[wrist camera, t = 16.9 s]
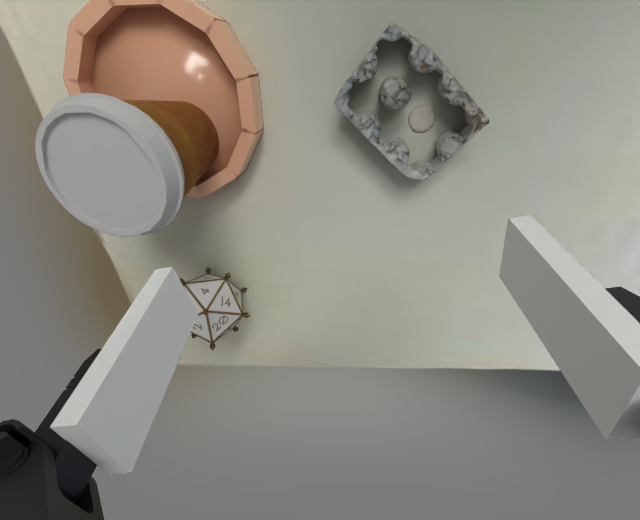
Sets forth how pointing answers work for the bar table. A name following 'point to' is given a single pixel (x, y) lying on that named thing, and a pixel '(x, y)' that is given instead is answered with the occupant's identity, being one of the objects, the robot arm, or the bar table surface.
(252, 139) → the terracotta bowl
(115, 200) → the disposable coffee cup
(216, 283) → the game die
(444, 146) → the egg carton
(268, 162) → the bar table surface
